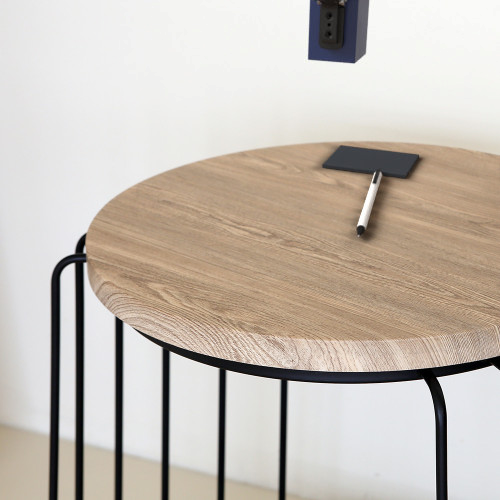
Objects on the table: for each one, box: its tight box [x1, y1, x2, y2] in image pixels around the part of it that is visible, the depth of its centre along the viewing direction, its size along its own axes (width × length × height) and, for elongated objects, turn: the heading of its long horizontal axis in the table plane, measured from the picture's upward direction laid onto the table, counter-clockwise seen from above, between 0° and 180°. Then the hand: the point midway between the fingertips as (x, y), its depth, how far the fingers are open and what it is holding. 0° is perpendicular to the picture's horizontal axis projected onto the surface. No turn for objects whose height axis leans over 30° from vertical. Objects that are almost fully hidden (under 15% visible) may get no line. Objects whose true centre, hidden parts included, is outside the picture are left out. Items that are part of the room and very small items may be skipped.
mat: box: [321, 144, 420, 179], centre depth 97 cm, size 10×8×1 cm
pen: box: [355, 169, 383, 238], centre depth 84 cm, size 1×19×1 cm, turn 166°
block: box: [307, 0, 370, 64], centre depth 74 cm, size 4×4×6 cm
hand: (338, 42), depth 75 cm, fingers closed on block, 4 cm apart
